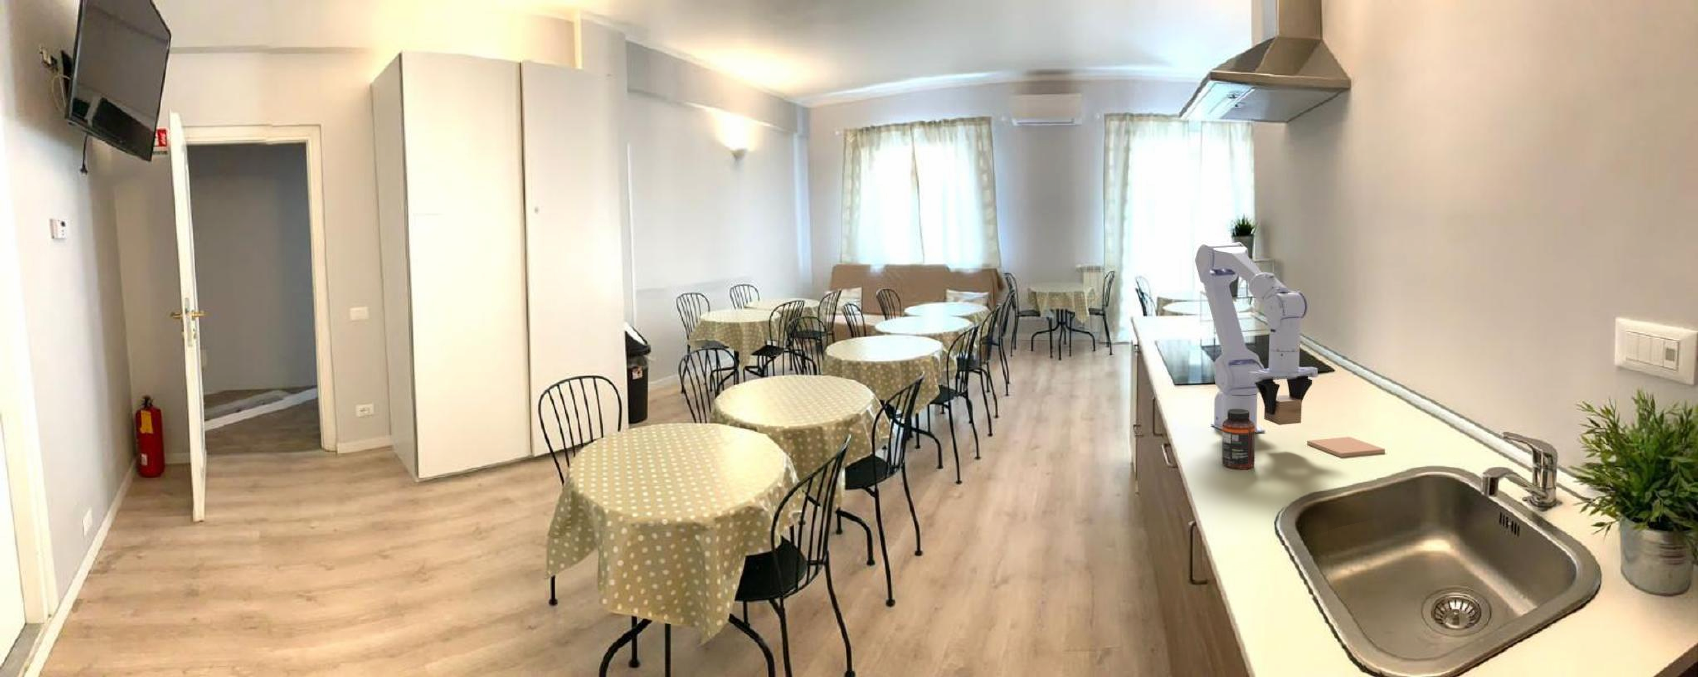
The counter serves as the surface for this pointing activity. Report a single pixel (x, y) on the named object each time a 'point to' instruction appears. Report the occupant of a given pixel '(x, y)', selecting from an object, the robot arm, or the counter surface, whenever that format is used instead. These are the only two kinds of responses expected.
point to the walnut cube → (1285, 411)
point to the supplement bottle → (1238, 440)
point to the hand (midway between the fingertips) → (1282, 412)
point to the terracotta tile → (1345, 446)
